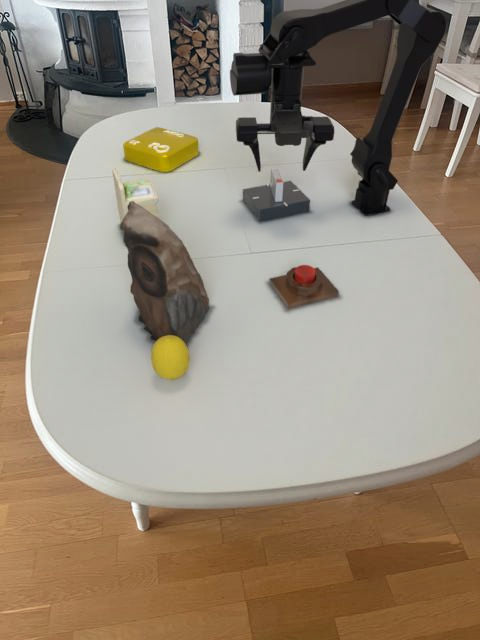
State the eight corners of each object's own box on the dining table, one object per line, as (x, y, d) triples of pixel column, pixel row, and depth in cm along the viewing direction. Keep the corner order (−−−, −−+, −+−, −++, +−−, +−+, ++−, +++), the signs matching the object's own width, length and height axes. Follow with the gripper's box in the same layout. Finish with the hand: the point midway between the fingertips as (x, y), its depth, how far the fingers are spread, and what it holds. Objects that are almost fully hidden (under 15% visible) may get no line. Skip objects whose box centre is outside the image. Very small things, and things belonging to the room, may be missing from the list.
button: (308, 271, 95) (309, 263, 93) (318, 282, 92) (319, 274, 91) (291, 275, 94) (291, 267, 92) (299, 286, 91) (300, 278, 90)
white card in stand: (270, 187, 118) (271, 167, 115) (277, 186, 118) (278, 167, 115) (275, 202, 113) (276, 181, 110) (282, 201, 113) (283, 181, 110)
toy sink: (163, 239, 107) (157, 180, 98) (128, 245, 105) (118, 186, 97) (154, 219, 113) (147, 162, 104) (120, 225, 111) (110, 167, 103)
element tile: (201, 153, 139) (201, 135, 136) (166, 174, 130) (165, 155, 127) (158, 141, 145) (156, 124, 142) (121, 160, 136) (119, 142, 133)
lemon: (154, 364, 80) (149, 325, 75) (190, 362, 81) (187, 323, 75) (153, 391, 76) (147, 352, 71) (191, 389, 76) (187, 350, 71)
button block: (317, 272, 99) (319, 259, 97) (338, 296, 93) (340, 283, 91) (269, 283, 96) (269, 270, 94) (287, 309, 90) (288, 296, 88)
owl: (180, 355, 82) (170, 248, 68) (111, 335, 85) (89, 229, 72) (213, 308, 90) (209, 205, 77) (149, 291, 94) (135, 190, 81)
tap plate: (288, 191, 123) (289, 178, 121) (310, 213, 115) (311, 200, 113) (241, 199, 120) (241, 187, 118) (260, 223, 112) (261, 210, 110)
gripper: (238, 106, 90) (238, 189, 100) (345, 105, 91) (333, 188, 101) (235, 86, 98) (235, 164, 109) (333, 85, 99) (324, 163, 109)
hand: (281, 170), depth 107 cm, fingers open, 9 cm apart
